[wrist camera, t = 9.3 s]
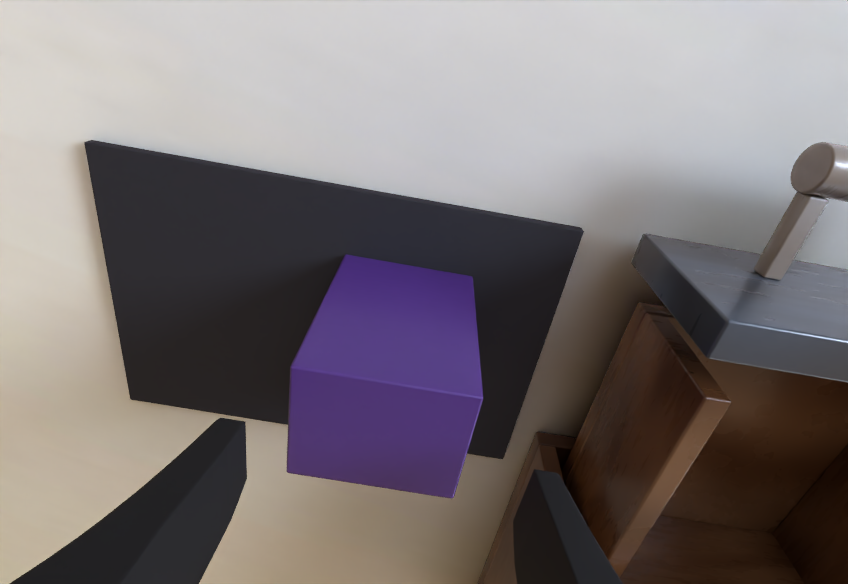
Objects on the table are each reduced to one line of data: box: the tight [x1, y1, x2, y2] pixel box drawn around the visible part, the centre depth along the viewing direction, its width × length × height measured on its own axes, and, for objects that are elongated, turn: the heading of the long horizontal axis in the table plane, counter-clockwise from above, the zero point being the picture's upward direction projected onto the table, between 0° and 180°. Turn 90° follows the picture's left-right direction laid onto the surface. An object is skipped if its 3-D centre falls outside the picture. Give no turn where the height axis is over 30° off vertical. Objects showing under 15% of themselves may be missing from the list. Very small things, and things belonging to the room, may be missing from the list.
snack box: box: [287, 255, 483, 498], centre depth 16 cm, size 5×4×7 cm
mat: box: [85, 140, 584, 459], centre depth 20 cm, size 18×12×1 cm, turn 80°
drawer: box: [562, 142, 848, 584], centre depth 16 cm, size 18×12×6 cm
